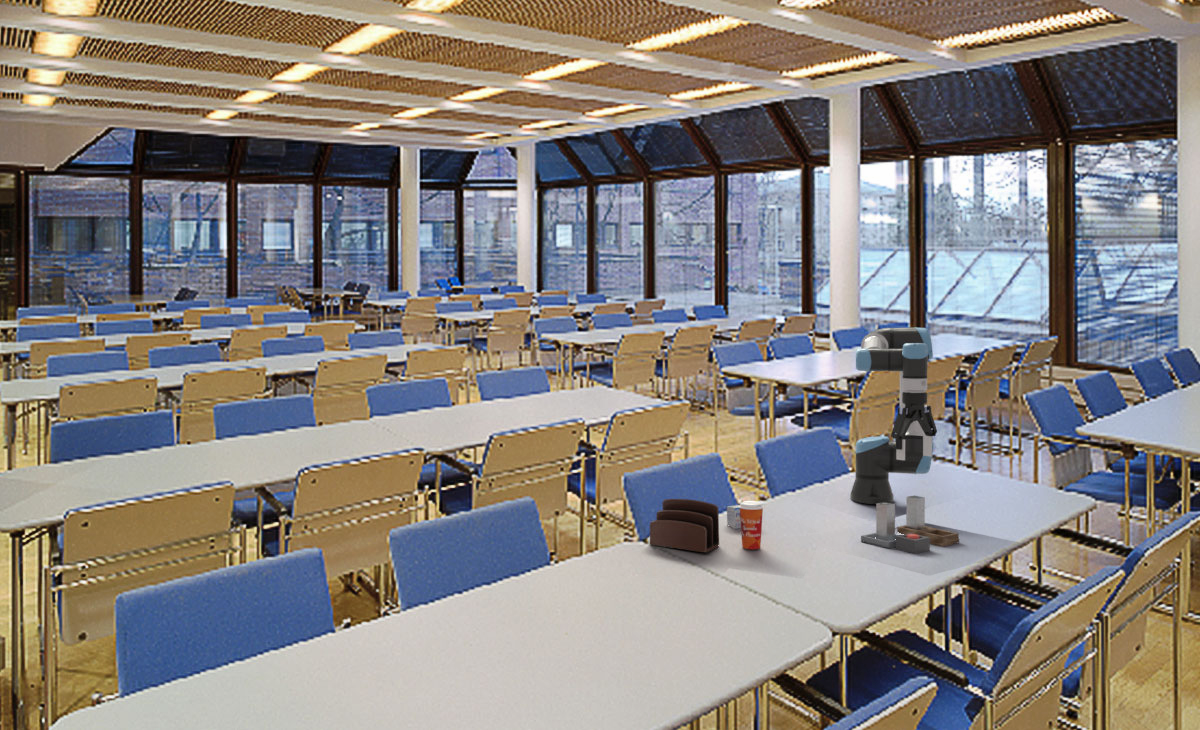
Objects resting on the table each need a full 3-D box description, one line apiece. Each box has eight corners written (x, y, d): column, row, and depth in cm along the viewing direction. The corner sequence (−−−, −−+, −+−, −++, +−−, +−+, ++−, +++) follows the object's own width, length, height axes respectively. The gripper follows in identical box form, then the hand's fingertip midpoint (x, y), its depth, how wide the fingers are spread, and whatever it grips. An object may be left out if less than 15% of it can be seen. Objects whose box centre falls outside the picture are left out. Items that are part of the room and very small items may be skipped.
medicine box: (734, 533, 287) (734, 508, 286) (726, 531, 291) (726, 505, 290) (753, 531, 290) (753, 505, 290) (745, 528, 294) (745, 503, 294)
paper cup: (736, 549, 267) (736, 504, 266) (741, 543, 274) (741, 499, 273) (761, 551, 264) (761, 506, 263) (766, 545, 271) (766, 501, 271)
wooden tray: (896, 536, 282) (896, 527, 282) (913, 532, 287) (913, 523, 287) (942, 546, 268) (942, 537, 268) (959, 542, 273) (959, 533, 273)
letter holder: (663, 538, 281) (663, 496, 281) (719, 546, 271) (719, 502, 270) (649, 545, 273) (649, 501, 272) (706, 553, 262) (706, 507, 262)
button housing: (895, 549, 265) (896, 536, 265) (910, 545, 269) (910, 533, 269) (915, 553, 260) (915, 540, 259) (929, 550, 263) (929, 537, 263)
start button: (904, 539, 265) (904, 535, 265) (911, 538, 267) (911, 533, 267) (914, 542, 262) (914, 537, 262) (921, 540, 264) (921, 535, 264)
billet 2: (906, 533, 282) (906, 496, 281) (913, 531, 284) (914, 495, 283) (916, 535, 278) (917, 498, 278) (924, 533, 280) (924, 497, 280)
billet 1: (876, 541, 274) (876, 503, 273) (884, 539, 276) (884, 502, 276) (886, 543, 271) (886, 505, 270) (894, 541, 273) (895, 504, 272)
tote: (860, 541, 275) (860, 535, 275) (882, 537, 281) (882, 531, 281) (888, 548, 266) (888, 542, 266) (910, 543, 272) (910, 537, 272)
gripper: (899, 394, 264) (899, 462, 265) (948, 390, 278) (948, 455, 278) (879, 392, 270) (879, 459, 271) (928, 389, 284) (928, 453, 285)
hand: (914, 457), depth 275 cm, fingers open, 13 cm apart
